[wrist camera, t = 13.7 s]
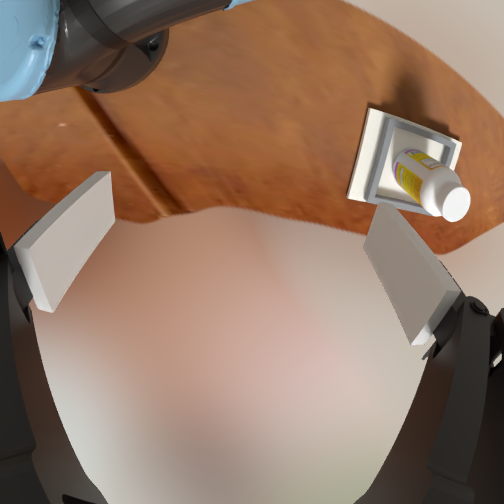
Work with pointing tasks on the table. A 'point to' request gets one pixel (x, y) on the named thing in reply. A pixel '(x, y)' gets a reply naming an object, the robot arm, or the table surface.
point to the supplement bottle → (431, 184)
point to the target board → (394, 158)
